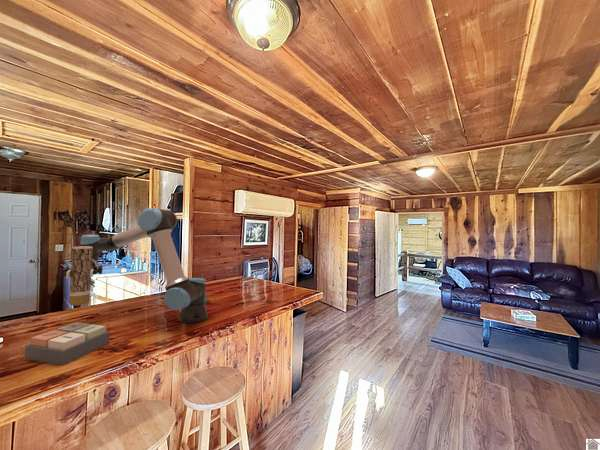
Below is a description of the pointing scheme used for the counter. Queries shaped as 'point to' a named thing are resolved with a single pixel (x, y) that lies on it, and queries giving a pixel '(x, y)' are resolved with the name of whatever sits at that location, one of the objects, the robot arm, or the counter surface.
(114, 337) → the counter surface
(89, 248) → the brown bark-patterned cylinder
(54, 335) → the key terracotta
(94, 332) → the key sage
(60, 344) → the key cream
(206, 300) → the cupcake
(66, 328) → the key slate
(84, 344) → the keypad
